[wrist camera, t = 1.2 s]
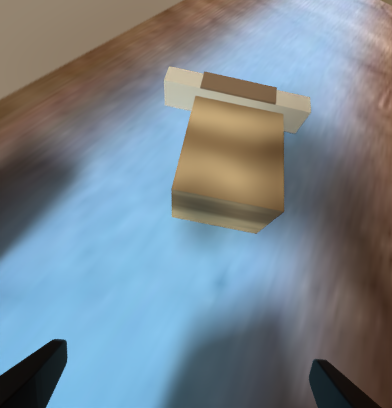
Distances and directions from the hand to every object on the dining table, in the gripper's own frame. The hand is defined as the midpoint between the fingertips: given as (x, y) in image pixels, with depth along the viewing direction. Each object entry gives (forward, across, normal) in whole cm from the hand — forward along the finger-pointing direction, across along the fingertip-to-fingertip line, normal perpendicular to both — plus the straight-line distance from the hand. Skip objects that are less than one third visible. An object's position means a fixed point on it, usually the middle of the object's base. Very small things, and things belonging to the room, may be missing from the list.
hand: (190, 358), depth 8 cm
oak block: (+21, -3, -4) cm, 22 cm away
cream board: (+28, -4, -14) cm, 32 cm away
